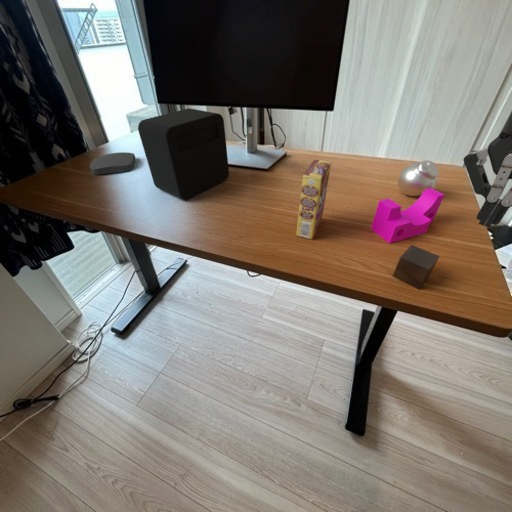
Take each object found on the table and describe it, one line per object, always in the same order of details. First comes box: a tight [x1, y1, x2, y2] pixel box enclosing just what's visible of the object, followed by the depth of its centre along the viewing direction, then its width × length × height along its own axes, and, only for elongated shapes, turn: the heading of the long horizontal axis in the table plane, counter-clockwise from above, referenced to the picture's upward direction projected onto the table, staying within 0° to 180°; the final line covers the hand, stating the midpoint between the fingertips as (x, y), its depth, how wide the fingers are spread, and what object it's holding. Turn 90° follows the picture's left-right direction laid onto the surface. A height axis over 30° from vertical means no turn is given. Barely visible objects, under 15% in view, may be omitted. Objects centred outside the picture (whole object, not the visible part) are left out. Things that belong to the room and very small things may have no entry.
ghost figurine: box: [397, 159, 440, 197], centre depth 73 cm, size 9×10×10 cm
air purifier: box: [137, 108, 230, 201], centre depth 80 cm, size 20×15×20 cm
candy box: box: [295, 159, 332, 240], centre depth 60 cm, size 9×4×15 cm, turn 156°
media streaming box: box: [89, 151, 137, 175], centre depth 100 cm, size 15×15×3 cm
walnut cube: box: [392, 244, 440, 290], centre depth 50 cm, size 5×5×5 cm
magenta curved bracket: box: [370, 188, 446, 244], centre depth 62 cm, size 15×6×8 cm, turn 111°
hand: (485, 223), depth 41 cm, fingers closed
